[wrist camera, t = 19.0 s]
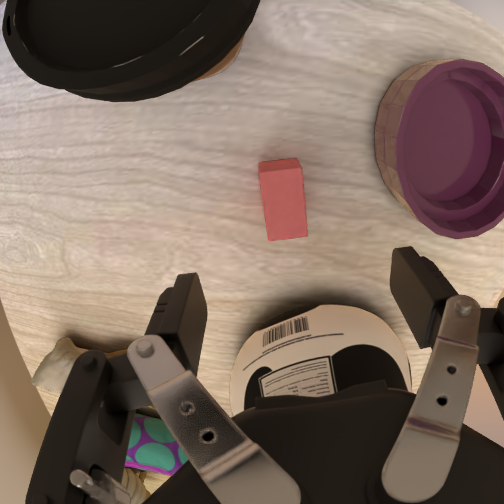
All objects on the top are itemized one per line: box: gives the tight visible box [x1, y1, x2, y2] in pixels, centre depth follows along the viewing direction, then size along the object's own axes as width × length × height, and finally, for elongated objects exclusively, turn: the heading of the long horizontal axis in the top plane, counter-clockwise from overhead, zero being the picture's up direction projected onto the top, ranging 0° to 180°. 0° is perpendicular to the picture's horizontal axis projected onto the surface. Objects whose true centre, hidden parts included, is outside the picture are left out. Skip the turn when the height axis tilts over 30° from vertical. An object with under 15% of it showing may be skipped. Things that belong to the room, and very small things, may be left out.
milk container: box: [229, 304, 412, 416], centre depth 24 cm, size 17×17×18 cm
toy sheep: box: [122, 467, 151, 504], centre depth 46 cm, size 11×17×11 cm, turn 41°
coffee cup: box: [2, 0, 260, 102], centre depth 11 cm, size 8×8×15 cm
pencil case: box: [125, 413, 189, 476], centre depth 36 cm, size 21×9×10 cm, turn 71°
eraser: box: [259, 158, 308, 241], centre depth 22 cm, size 5×3×3 cm, turn 8°
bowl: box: [375, 59, 504, 239], centre depth 19 cm, size 13×13×4 cm
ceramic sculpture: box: [32, 338, 156, 410], centre depth 30 cm, size 11×9×15 cm
